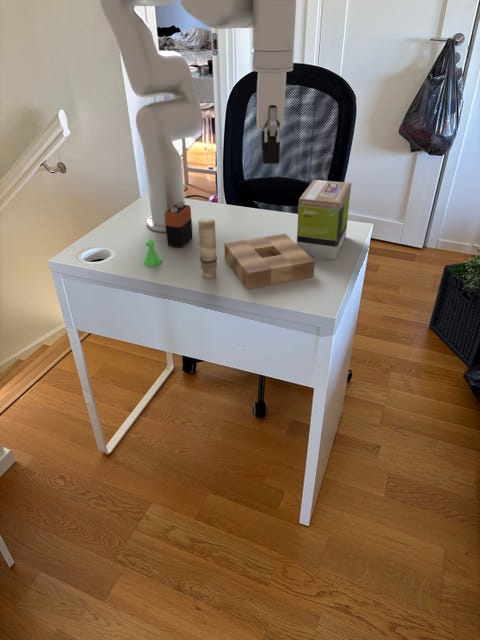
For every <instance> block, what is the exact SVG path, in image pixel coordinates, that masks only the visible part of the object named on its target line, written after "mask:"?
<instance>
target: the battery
mask: <svg viewBox="0 0 480 640" xmlns="http://www.w3.org/2000/svg"><path fill="white" fill-rule="evenodd" d="M191 209H192V208H191V205H189V204H188V205H187V204H185V205H184V202H177V203H176V204H175V205H174V206H173V207H171V208H170V209H169V210H167V211H166V212H165V213H164V215H165V225H166V232H165V233H166V241H167V243H166V244H167V246H169V247H173V248H175V247H176V248H181V249H182V248H183V247H185V246H186V244H187V243H189V242H190V241H191V240H192V239H193V225H192V223H193V221H192V222H191V219H192V211H191Z"/></svg>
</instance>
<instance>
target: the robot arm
mask: <svg viewBox="0 0 480 640" xmlns="http://www.w3.org/2000/svg"><path fill="white" fill-rule="evenodd" d="M99 1H100V6H101V9H102V12H103V14H104V16H105V18H106V20H107V22H108V24H109V26H110V28H111V30H112V33H113V34H114V37H115V39H116V42H117V44H118V46H117V47H118V48H119V49H118V50H119V52H120V55H121V59H122V62H123V63H122V64H123V65H124V69H125V72H126V76H127V78H128V81H129V85H130V86H131V89H132V92H133V93H134V94H135V95H136V96H138V97H140V98H156V97H161V96H169V98H170V99H167V100H160V101H153V102H149V103H146V104H144V105H143V106H141V107H140V108H139V109H138V111H137V113H136V116H135V125H136V129H137V133H138V135H139V138H140V142H141V146H142V150H143V157H144V166H145V172H146V179H147V181H146V182H147V187H148V196H149V204H150V205H149V206H150V213H151V216H149V217H148V218H147V220H146V226H147V227H148V229H150V230H152V231H154V232H160V233H166V225H165V215H164V213H165V212H166V211H167V210H169V209H170V208H171V207H173V206H174V205H175V204H176V203H177V202H184V205H186V200H185V198H186V197H185V187H184V186H185V185H184V174H183V163H182V157H181V154H180V152H179V151H178V149H177V148H176V147H175V145H174V144H173V142H175V141H177V140H183V139H187V138H191V137H194V136H196V135H197V134H199V132H201V129H202V127H203V114H202V108H201V104H200V102H199V101H200V100H199V97H198V93H197V90H196V85H195V83H194V78H193V75H192V71H191V68H190V65H189V63H188V62H187V60H186V59H185V58H184V57H183V55H181V54H180V53H178V52H176V51H159V50H158V49H157V47H156V44H155V39H154V35H153V32H152V30H151V29H150V27H149V25H148V23H147V22H146V21H145V19H144V18H143V16H142V15H141V14H139V12H137V11H136V9H135V7H163V6H168V5H170V4H173V2H175V1H176V0H99ZM180 3H181V5H182V7H183V9H184V11H185V12H186V13H187V14H189V15H190V16H191V17H193V18H194V19H196V20H197V21H199V22H201V23H202V24H204V25H206V26H208V27H210V28H213V29H219V30H228V29H251V28H252V61H251V62H252V64H251V65H252V66H251V67H252V68H251V70H252V72H257V81H256V128H257V129H258V130H259V131H261V150H262V163H263V164H265V165H267V164H268V165H271V164H272V165H273V164H274V165H278V164H279V163H280V155H281V154H280V153H281V151H280V148H281V144H280V143H281V142H280V130H281V129H283V126H284V125H283V123H284V116H285V115H284V114H285V103H286V90H287V89H286V88H287V85H286V84H287V72H292V71H294V54H295V51H294V49H295V31H296V16H297V15H296V13H297V12H296V9H297V0H180ZM261 128H262V130H261ZM191 222H192V223H193V221H192V218H191Z"/></svg>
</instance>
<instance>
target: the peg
mask: <svg viewBox="0 0 480 640" xmlns="http://www.w3.org/2000/svg"><path fill="white" fill-rule="evenodd" d="M197 225H198V240H199V241H198V242H199V261H200V269H201V271H202V277H203V278H204V279H213V278H216V276H217V272H216V271H217V269H218V267H217V266H218V265H217V264H218V263H217V261H218V260H217V259H218V257H217V240H216V239H217V238H216V221H215V219H213V218H207V217H206V218H202V219H199V220H198V222H197Z"/></svg>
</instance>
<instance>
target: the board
mask: <svg viewBox="0 0 480 640" xmlns="http://www.w3.org/2000/svg"><path fill="white" fill-rule="evenodd" d="M223 248H224V250H223V251H224V259H225V261H226V262H227V263H228V265H229V266H230V267H231V269H232V270H233V272H234V273H235V274H236V276H237V277H238V279H239V280H240V282H241V283H242V284H243V285H244V286H245V288H246V289H247V290H250V289H257V288H261V287H265V286H272V285H277V284H282V283H288V282H294V281H298V280H304V279H309V278H313V277H314V275H315V265H316V264H315V263H316V261H315V259H313V257H310V256H309V255H308V254H307V253H306V252H305V251H304V250H302V249H301V248H300V247H299V246H298V245H297V242H295V241H294V240H293V239H292V238H291V237H290V236H288V234H286V233H281V234H273V235H268V236H262V237H261V236H260V237H254V238H249V239H243V240H242V239H241V240H236V241H235V240H234V241H229V242H224V243H223Z"/></svg>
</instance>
